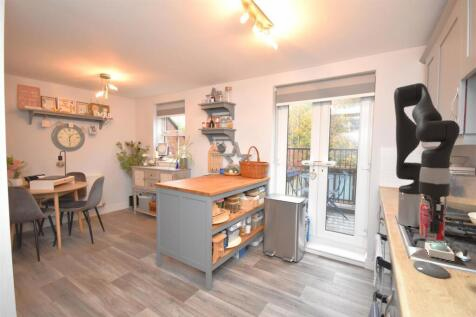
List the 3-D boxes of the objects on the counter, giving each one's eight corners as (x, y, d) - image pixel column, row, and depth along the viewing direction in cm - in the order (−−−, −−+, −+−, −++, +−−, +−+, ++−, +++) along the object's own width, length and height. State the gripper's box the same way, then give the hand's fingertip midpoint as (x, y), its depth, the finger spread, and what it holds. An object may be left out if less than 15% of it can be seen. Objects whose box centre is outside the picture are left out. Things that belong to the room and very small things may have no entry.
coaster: (411, 260, 79) (411, 258, 79) (444, 267, 75) (444, 265, 74) (415, 272, 72) (415, 270, 72) (452, 281, 67) (452, 279, 67)
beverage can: (436, 235, 75) (438, 201, 74) (448, 243, 69) (450, 206, 68) (415, 233, 76) (417, 200, 76) (425, 241, 70) (427, 205, 70)
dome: (429, 251, 85) (430, 241, 85) (444, 254, 83) (445, 244, 83) (432, 256, 82) (432, 246, 81) (448, 259, 79) (448, 248, 79)
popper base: (424, 249, 87) (425, 242, 87) (448, 253, 83) (448, 246, 83) (428, 257, 81) (429, 249, 81) (454, 262, 77) (454, 254, 77)
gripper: (415, 177, 79) (413, 220, 80) (424, 183, 67) (421, 234, 68) (443, 178, 75) (440, 224, 76) (457, 185, 63) (454, 240, 64)
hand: (431, 229), depth 72 cm, fingers closed on beverage can, 6 cm apart
